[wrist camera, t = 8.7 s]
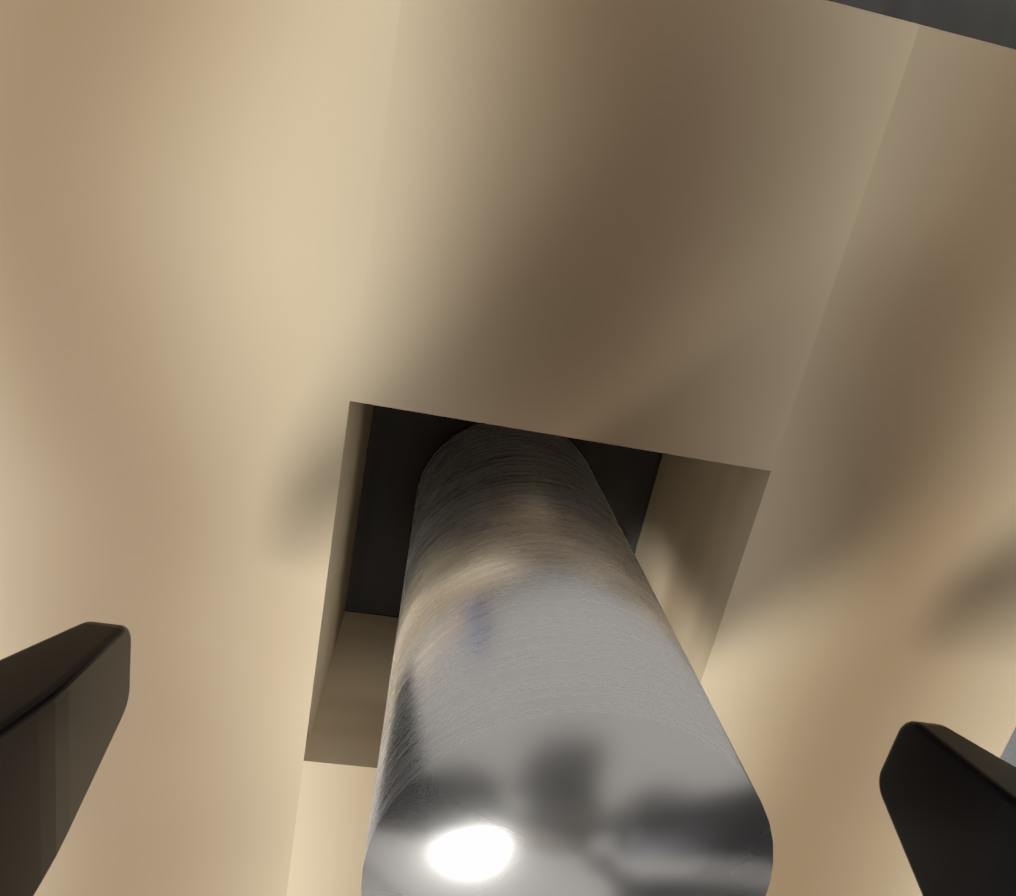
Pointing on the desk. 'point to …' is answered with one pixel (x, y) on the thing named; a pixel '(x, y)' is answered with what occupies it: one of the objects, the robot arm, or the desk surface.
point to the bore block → (502, 380)
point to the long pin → (546, 702)
